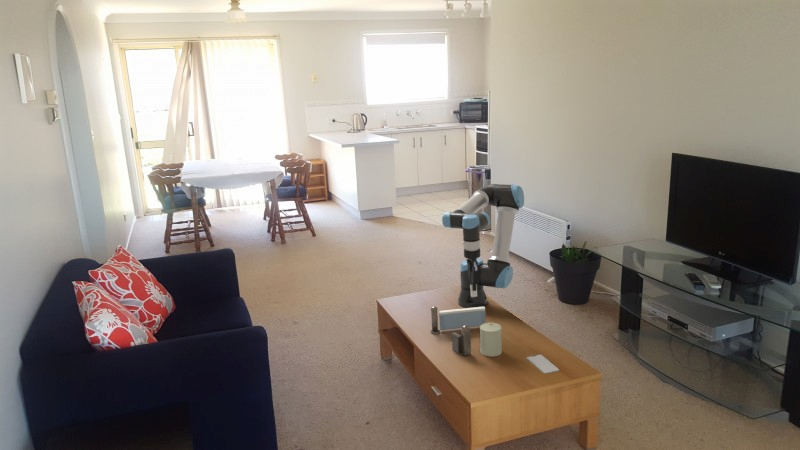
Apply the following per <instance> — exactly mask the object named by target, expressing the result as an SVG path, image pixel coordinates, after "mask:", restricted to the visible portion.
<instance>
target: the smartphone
mask: <svg viewBox="0 0 800 450" xmlns="http://www.w3.org/2000/svg"><path fill="white" fill-rule="evenodd" d="M526 360H527V361H529V362H530V363H531V364H532V365H533V366H534V367H536V368H537V369H538V371H540V372H541V373H542V374H544V375H545V374H546V375H547V374H552V373H556V372H560V370H561V369H560V368H559V367H557V365H555V364H554V363H552V362H551V361H550V360H549V359H548V358H547V357H545V356H544V355H543V354H541V353H540V354H536V355H535V354H534V355H529V356H527V357H526Z"/></svg>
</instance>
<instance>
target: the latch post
mask: <svg viewBox="0 0 800 450" xmlns="http://www.w3.org/2000/svg"><path fill="white" fill-rule="evenodd" d="M470 329H471V327H470V328H469V327H468V326H467V325H464V326H463V327H462V328H461V329H460V334H458V333H457V332H456V331H455V332H451V347H452V351H453V352H455V353H456V354H457V355H463V356H465V357H466V356H470V355H472V338H471V337H472V334H471V330H470Z"/></svg>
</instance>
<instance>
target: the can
mask: <svg viewBox="0 0 800 450" xmlns="http://www.w3.org/2000/svg"><path fill="white" fill-rule="evenodd" d="M479 333H480V334H479V335H480V341H479V342H480V351H479V353H480V354H481V355H483V356H484V357H485V356H486V357H492V358H493V357H497V356H498V357H499V356H500V355H502V354H503V351H502V350H503V349H502V326H501V324H499V323H496V322H486V323H484V324H482V325H481V326H480V327H479Z"/></svg>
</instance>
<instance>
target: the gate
mask: <svg viewBox="0 0 800 450" xmlns="http://www.w3.org/2000/svg"><path fill="white" fill-rule="evenodd" d="M438 311H439V312H438V314H439V315H438V318H439V330H440V331H448V330H457V329H460V330H461V329H462V327H463V326H464V325H467V326H468V327H469V328H470V329H471V328H477V327H478V328H480V326H481V325H482V324H484V323H487V321H486V307H485V306H481V307H474V308H469V307H463V308H455V309H446V310H438Z"/></svg>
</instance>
